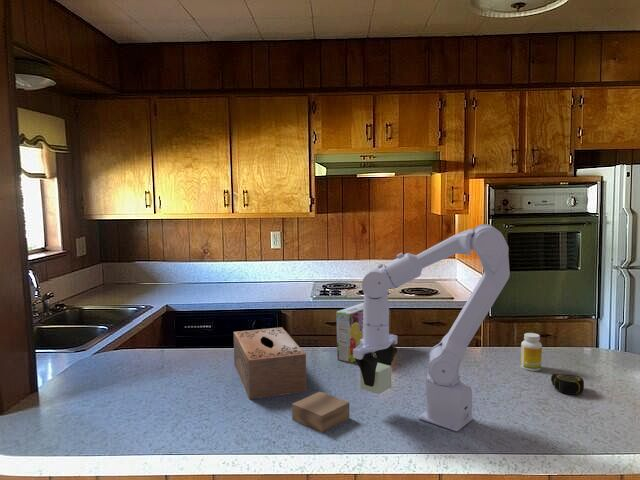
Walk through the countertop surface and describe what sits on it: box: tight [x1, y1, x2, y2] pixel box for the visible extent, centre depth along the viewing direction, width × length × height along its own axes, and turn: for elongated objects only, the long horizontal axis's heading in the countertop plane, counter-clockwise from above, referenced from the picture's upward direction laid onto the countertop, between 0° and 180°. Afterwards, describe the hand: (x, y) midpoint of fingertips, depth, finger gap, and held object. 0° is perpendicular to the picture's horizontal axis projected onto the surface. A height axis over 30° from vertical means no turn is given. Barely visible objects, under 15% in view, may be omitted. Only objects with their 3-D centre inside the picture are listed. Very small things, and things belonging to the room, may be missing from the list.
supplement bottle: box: [519, 332, 543, 372], centre depth 143 cm, size 5×5×10 cm
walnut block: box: [291, 391, 350, 433], centre depth 113 cm, size 9×9×4 cm
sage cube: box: [359, 363, 392, 395], centre depth 115 cm, size 5×5×5 cm
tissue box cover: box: [233, 326, 307, 400], centre depth 138 cm, size 26×14×10 cm, turn 18°
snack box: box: [335, 302, 364, 364], centre depth 157 cm, size 21×6×15 cm, turn 141°
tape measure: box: [550, 373, 585, 395], centre depth 127 cm, size 7×7×4 cm
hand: (376, 381), depth 116 cm, fingers closed on sage cube, 5 cm apart
